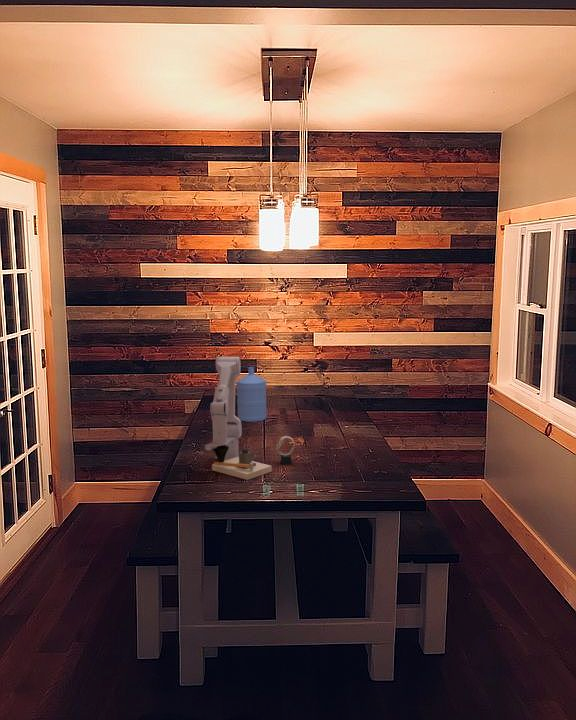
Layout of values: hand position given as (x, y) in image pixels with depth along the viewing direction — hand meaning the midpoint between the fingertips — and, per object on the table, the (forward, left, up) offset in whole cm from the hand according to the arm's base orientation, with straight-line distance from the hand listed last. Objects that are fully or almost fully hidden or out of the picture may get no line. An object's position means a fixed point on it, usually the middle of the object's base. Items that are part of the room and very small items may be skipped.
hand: (221, 463), depth 276 cm
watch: (+11, +27, -4) cm, 29 cm away
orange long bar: (+6, +1, -1) cm, 6 cm away
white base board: (+5, +7, -4) cm, 9 cm away
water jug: (-56, +76, -4) cm, 94 cm away
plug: (+7, +7, -4) cm, 10 cm away
